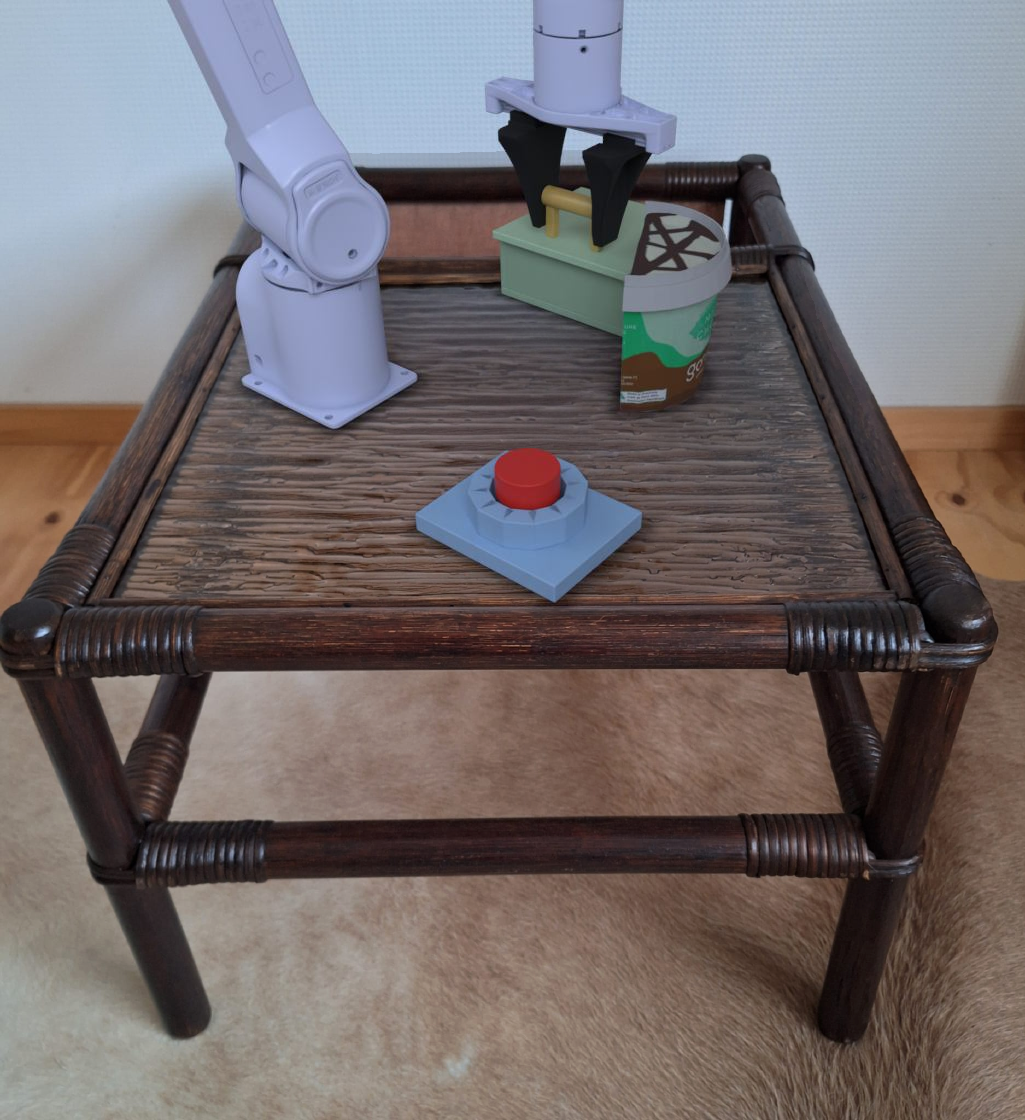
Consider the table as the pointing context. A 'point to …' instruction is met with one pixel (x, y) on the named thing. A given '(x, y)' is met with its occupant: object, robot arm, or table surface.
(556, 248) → the lid
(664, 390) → the food container
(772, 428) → the table surface
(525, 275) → the chest
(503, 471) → the button
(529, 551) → the switch block
